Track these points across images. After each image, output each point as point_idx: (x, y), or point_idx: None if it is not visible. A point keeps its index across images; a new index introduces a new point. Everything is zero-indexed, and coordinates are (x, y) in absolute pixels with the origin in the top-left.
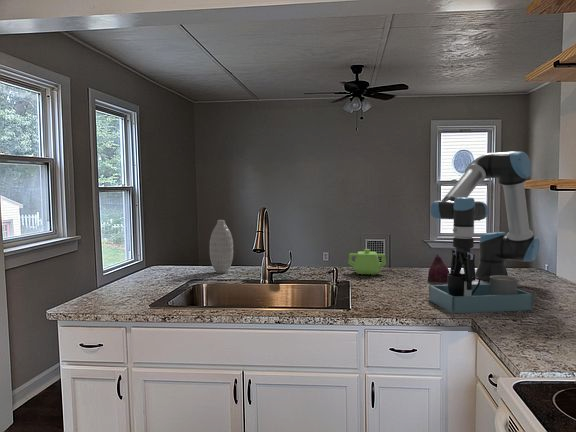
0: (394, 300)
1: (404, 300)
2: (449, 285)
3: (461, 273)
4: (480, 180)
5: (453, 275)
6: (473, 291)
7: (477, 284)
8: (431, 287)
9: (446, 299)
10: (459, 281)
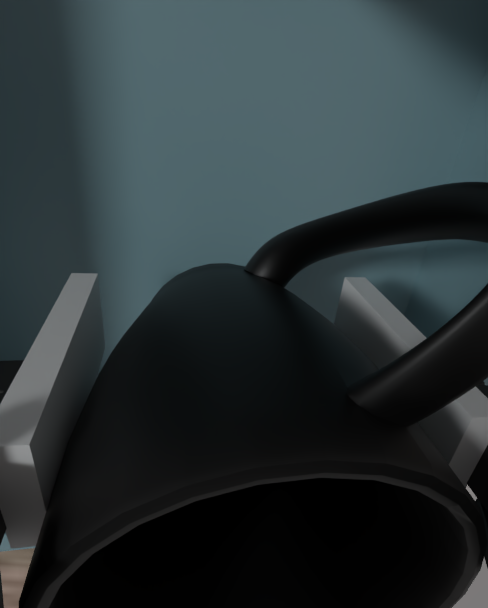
0: (23, 585)
1: (21, 549)
2: (248, 529)
3: (95, 548)
4: None
5: (66, 593)
6: (352, 250)
7: (444, 237)
8: (4, 541)
9: None
10: (392, 542)
